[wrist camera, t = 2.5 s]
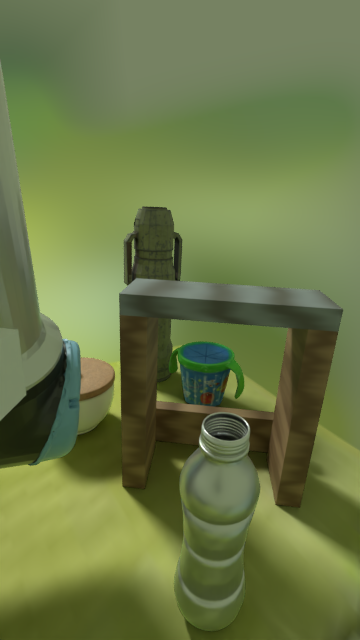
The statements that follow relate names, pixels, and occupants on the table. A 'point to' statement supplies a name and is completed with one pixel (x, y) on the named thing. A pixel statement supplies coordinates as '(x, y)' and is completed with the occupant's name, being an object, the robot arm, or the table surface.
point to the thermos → (155, 266)
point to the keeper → (186, 419)
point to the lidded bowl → (94, 393)
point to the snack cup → (205, 372)
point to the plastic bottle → (216, 522)
